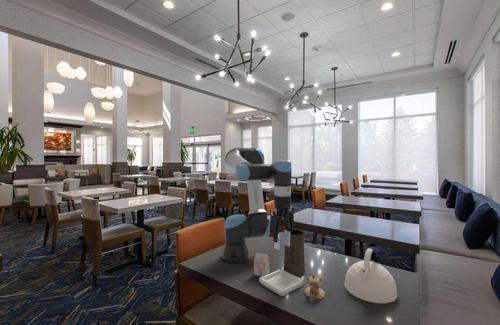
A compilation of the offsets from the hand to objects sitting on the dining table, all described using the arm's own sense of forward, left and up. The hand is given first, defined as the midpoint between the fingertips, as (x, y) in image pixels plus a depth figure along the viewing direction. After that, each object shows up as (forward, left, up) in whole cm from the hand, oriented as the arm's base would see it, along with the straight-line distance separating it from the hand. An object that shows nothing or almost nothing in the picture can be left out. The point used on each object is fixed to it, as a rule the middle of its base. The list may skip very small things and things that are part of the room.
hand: (282, 246), depth 108 cm
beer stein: (-6, +16, -17) cm, 24 cm away
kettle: (+27, +26, -17) cm, 41 cm away
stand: (+14, +5, -17) cm, 22 cm away
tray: (0, 0, -17) cm, 17 cm away
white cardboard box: (-12, -1, -17) cm, 21 cm away
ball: (0, 0, 0) cm, 0 cm away
